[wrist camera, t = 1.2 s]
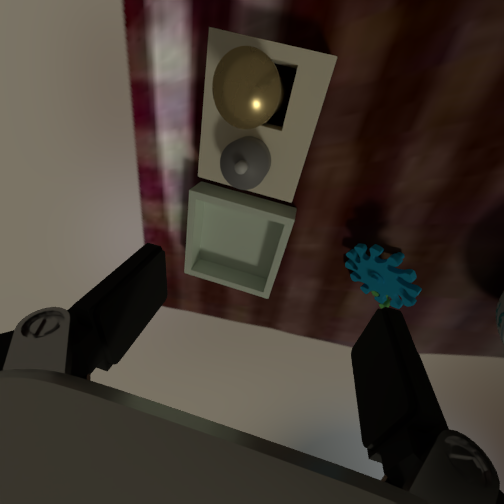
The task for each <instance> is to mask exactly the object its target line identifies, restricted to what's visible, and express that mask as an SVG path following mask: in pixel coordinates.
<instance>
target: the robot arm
mask: <svg viewBox="0 0 504 504" xmlns="http://www.w3.org/2000/svg"><path fill="white" fill-rule="evenodd" d="M166 298H167V279H166V262H165V252H164V251H163V250H162V248H161V247H160V246H158V245H154V244H150V243H147V244H145V245H144V246H143V247H142V248H140V249H139V250H138V251H137V252H136V253H134V254H133V255H132V256H131V257H130V258H129V259H127V260H126V261H125V262H124V263H123V264H121V265H120V266H119V267H118V268H117V269H115V271H113V272H112V273H111V274H110V275H108V276H107V277H106V278H105V279H104V280H102V281H101V282H100V283H99V284H98V285H97V286H95V287H94V288H93V289H92V290H90V291H89V292H88V293H87V294H86V295H85V296H83V297H82V298H81V299H80V300H79V301H77V302H76V303H75V304H74V305H73V306H72V307H71V308H70V309H69V310H65V309H63V308H59V307H50V308H45V309H41V310H38V311H35V312H33V313H31V314H29V315H28V316H26V317H25V318H23V319H22V320H21V321H20V322H19V323H18V325H17V326H16V328H15V330H13V331H10V332H6V333H2V334H0V504H504V493H503V492H501V490H500V489H499V488H500V481H499V478H498V475H497V471H496V470H495V468H494V466H493V464H492V462H491V461H490V459H489V458H488V457H487V455H486V454H485V453H484V451H483V450H482V449H481V448H480V447H479V446H478V445H477V444H476V443H475V442H474V441H472V440H471V439H470V438H468V437H467V436H465V435H464V434H462V433H459V432H458V431H454V430H449V429H448V426H447V424H446V421H445V418H444V416H443V414H442V411H441V409H440V406H439V403H438V401H437V398H436V396H435V393H434V391H433V388H432V386H431V383H430V381H429V378H428V376H427V373H426V371H425V368H424V366H423V363H422V360H421V358H420V355H419V354H418V352H417V350H416V348H415V345H414V342H413V340H412V337H411V335H410V332H409V330H408V327H407V325H406V322H405V320H404V317H403V314H402V313H401V311H399V310H395V309H392V308H388V307H383V308H382V309H378V310H377V311H376V312H375V314H374V315H373V317H372V318H371V320H370V322H369V323H368V325H367V326H366V328H365V329H364V331H363V332H362V334H361V336H360V337H359V339H358V340H357V342H356V343H355V345H354V346H353V348H352V352H351V359H352V366H353V374H354V382H355V389H356V397H357V405H358V412H359V421H360V428H361V436H362V442H363V445H364V447H366V448H367V450H368V457H369V459H371V460H374V461H377V462H380V463H382V464H383V470H384V474H385V475H384V477H383V478H382V480H378V479H375V478H372V477H370V476H367V475H364V474H362V473H359V472H356V471H354V470H351V469H348V468H345V467H343V466H340V465H337V464H334V463H332V462H329V461H326V460H323V459H320V458H317V457H314V456H311V455H309V454H305V453H303V452H300V451H297V450H294V449H291V448H288V447H286V446H283V445H280V444H277V443H274V442H271V441H268V440H265V439H262V438H260V437H257V436H254V435H251V434H248V433H245V432H242V431H239V430H236V429H233V428H230V427H227V426H224V425H222V424H218V423H216V422H213V421H210V420H207V419H204V418H201V417H198V416H195V415H192V414H189V413H186V412H184V411H181V410H178V409H175V408H172V407H169V406H166V405H162V404H160V403H157V402H154V401H151V400H148V399H145V398H142V397H139V396H136V395H133V394H130V393H127V392H124V391H121V390H118V389H115V388H112V387H109V386H105V385H102V384H99V383H96V382H93V381H90V374H91V373H92V372H93V370H94V369H95V368H100V369H102V370H105V371H108V370H109V369H110V367H111V366H112V365H113V364H117V363H118V362H119V361H120V360H121V358H122V357H123V356H124V354H125V353H126V352H127V351H128V349H129V348H130V347H131V345H132V344H133V343H134V341H135V340H136V338H137V337H138V336H139V335H140V333H141V332H142V331H143V329H144V328H145V327H146V325H147V324H148V323H149V322H150V320H151V319H152V318H153V316H154V315H155V313H156V312H157V311H158V310H159V308H160V307H161V306H162V304H163V303H164V302H165V300H166Z"/></svg>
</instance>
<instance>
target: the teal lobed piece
mask: <svg viewBox="0 0 504 504" xmlns="http://www.w3.org/2000/svg"><path fill="white" fill-rule="evenodd" d="M366 250H367V246H366V245H365V244H357V245H356V246H355V247H354V249H351V250H350V251H349V252H348V253H347V254H346V256H347V257H348V258H350V259H349V260H348V261H347V262H346V263H345V266H346V267H347V268H348V269H351V270H353V271H354V272H352V273H351V274H350V276H351V279H352V280H353V281H355V282H356V281H360V282H363V283H365V284H363V285H362V286H361V287H360V288H361V290H362V291H363V292H364V293H365V294H368V293H369V292H370V291H371V292H372V294H373V295H374V296H375V297H374V298H375V300H376V301H378V302H379V303H380V304H379V306H380V308H383V307H389V306H390V305H391V306H392V307H394V308H398V309H399V308H400V307H401V306H402V305H403V304H404V305H405V306H413V305H414V304H415V303H416V302H417V301H416V299H415V297H416V296H417V295H418V294H419V293H420V292H421V290H422V289H421V288H420V287H419V286H417V285H414V284H411V282H413V281H414V280H415V279H416V274H415V271H414V270H412V269H407V270H401V269H397V268H395V267H397V266H399V265H400V264H401V263H402V262H403V260H402V259H403V258H404V254H403V253H401V252H398V253H394V254H392V255H391V256H390V257H389V258H388V259H384V260H382V259H380V258H379V257H378V256H379V255H380V254H381V253H382V252H383V251H384V248H382V247H381V246H379V245H377V244H374V245H373V246H372V247H371V248H370V253H371V256H370V257H369V256H368V255H367V254H366ZM357 253H358V254H357ZM358 255H359V257H360V258H359V257H358ZM409 282H410V283H409ZM405 290H406V291H407V292H406V291H405ZM398 295H400V296H401V298H402V301H401V300H400V298H399V297H398ZM390 297H391V299H392V300H391V301H390V300H389V299H388V298H390Z"/></svg>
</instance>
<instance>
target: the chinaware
mask: <svg viewBox="0 0 504 504" xmlns="http://www.w3.org/2000/svg"><path fill="white" fill-rule="evenodd" d="M496 324H497V328H498V332H499V335H500V338H501V340H502V342H503V344H504V292H503V293H502V295H501V297H500V299H499V301H498V304H497V308H496Z"/></svg>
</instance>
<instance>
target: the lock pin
mask: <svg viewBox="0 0 504 504" xmlns="http://www.w3.org/2000/svg"><path fill="white" fill-rule="evenodd" d="M212 92H213V99H214V102H215V105H216V108H217V110H218V112H219V113H220V115H221V116H222V117H223V118H224V120H225V121H227V122H228V123H229V124H230V125H232V126H234V127H236V128H239V129H253V128H256V127H258V126H261V125H262V124H264V123H265V122H267V121H268V120H269V119H270V118H271V117H272V115H273V114H274V113H276V112H278V111H279V110H280V109H281V108H282V106H283V105H284V103H285V100H286V86H285V83H284V81H283V80H282V78H281V77H280V76H279V73H278V70H277V68H276V66H275V64H274V63H273V61H272V60H271V59H270V58H269V57H268V56H267V55H266V54H265V53H264V52H263V51H261V50H260V49H258V48H255V47H252V46H240V47H236V48H234V49H232V50H230V51H229V52H227V53H226V54H225V55H224V56H223V57H222V59H221V60H220V61H219V63H218V65H217V67H216V70H215V72H214V76H213V82H212Z"/></svg>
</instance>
